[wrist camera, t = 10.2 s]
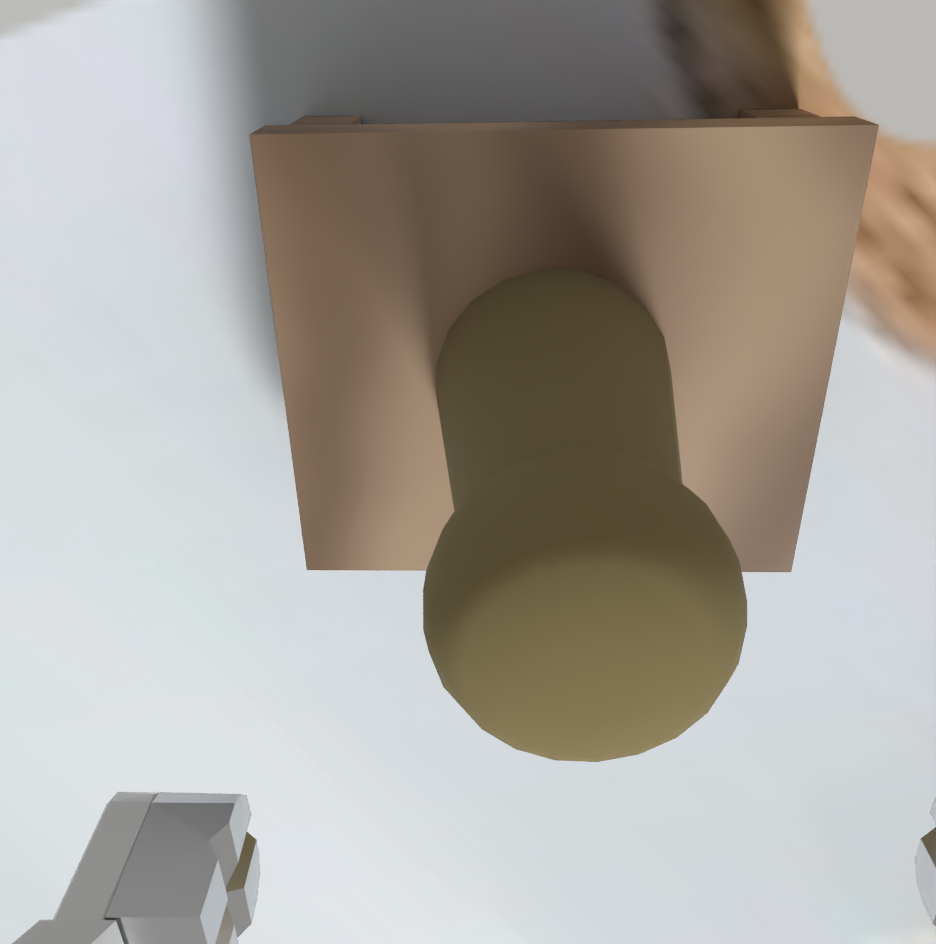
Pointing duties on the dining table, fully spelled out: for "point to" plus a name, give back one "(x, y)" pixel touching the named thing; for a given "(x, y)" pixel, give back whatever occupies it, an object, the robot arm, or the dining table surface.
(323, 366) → the walnut stand
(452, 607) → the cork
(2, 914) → the dining table surface
